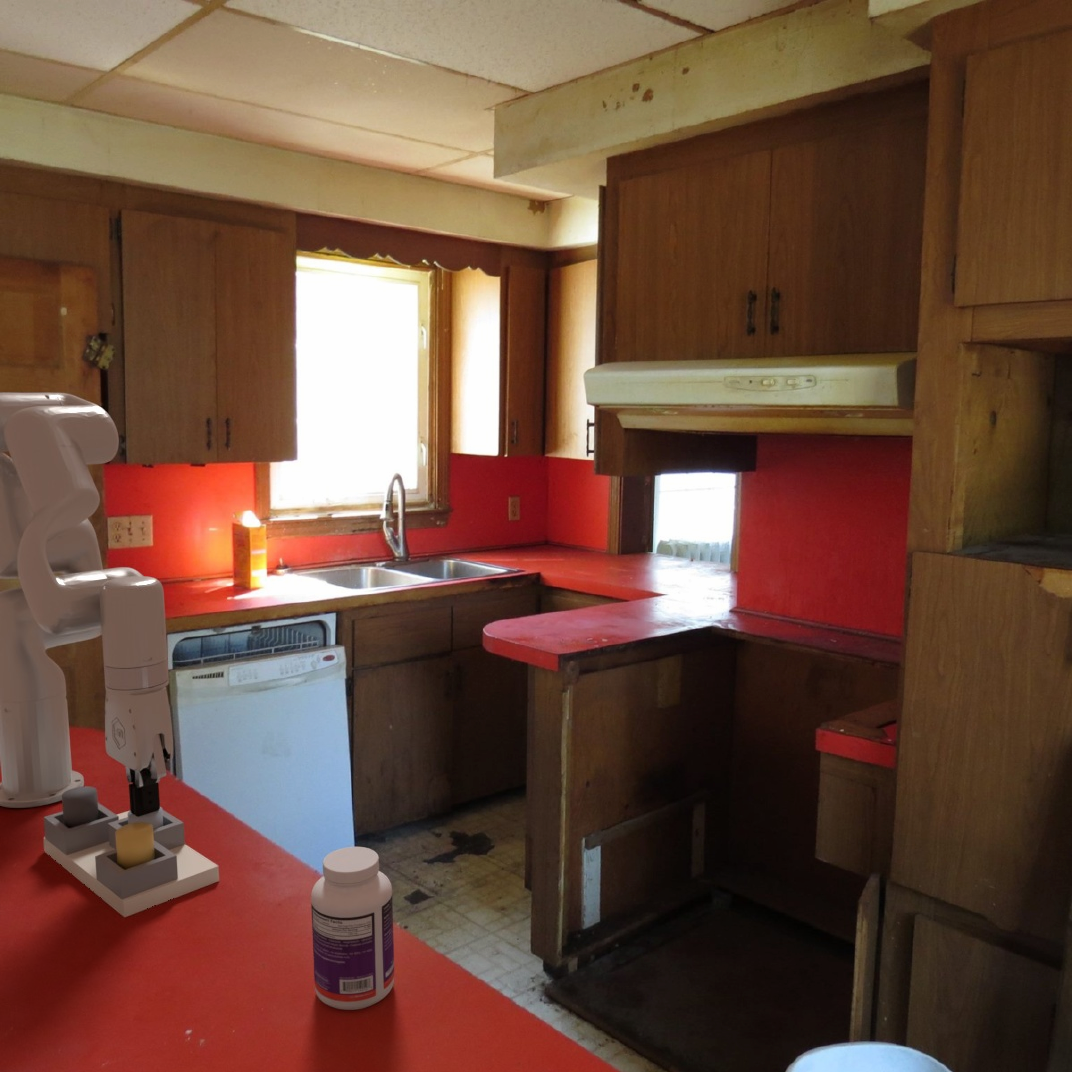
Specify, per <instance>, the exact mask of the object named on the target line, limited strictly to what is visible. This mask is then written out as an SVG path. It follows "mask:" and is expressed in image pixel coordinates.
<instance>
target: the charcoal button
mask: <svg viewBox="0 0 1072 1072" xmlns="http://www.w3.org/2000/svg"><path fill="white" fill-rule="evenodd" d="M61 801H62V802H61V803H62V811H63V819H64V825H65V826H66V827H68V828H73V827H76V826H79V825H83V824H86V823H89V822H92V821H96V820H99V814H98V803H99V800H98V790H97V788H96V787H94V786H87V785H85V786H83V787H77V788H73V789H70V790H67V791H65V792H64V793H63V794H62V800H61Z"/></svg>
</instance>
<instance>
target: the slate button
mask: <svg viewBox="0 0 1072 1072" xmlns="http://www.w3.org/2000/svg"><path fill="white" fill-rule="evenodd" d="M162 810H163V807H161V806H160V809H159V810H158V811H155V812H152V813H149V814H146V815H142V816H139V817H137V816H135V815H134V814H132V813H131V811H130V810H128V811H129V812H128V824H131V823H139V822H143V823H149V824H151V825H152V826H153V829H156V828H159V827H162V826H163V812H162Z"/></svg>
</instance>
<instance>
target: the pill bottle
mask: <svg viewBox="0 0 1072 1072" xmlns="http://www.w3.org/2000/svg"><path fill="white" fill-rule="evenodd" d="M322 873H323V875H322V876H321V877H320V878H319V879H318V880H317V881H316V882H315V883H314V885H313V887H312V890H311V895H310V903H311V925H312V927H311V929H312V950H313V954H312V956H313V977H314V978H313V979H314V980H313V981H314V982H313V983H314V991H315V993H316V995H317V998H318V999H319V1000H320V1001H321V1002H322V1003H324V1004H325V1005H327V1006H329V1007H332V1008H334V1009H338V1010H346V1011H349V1010H350V1011H351V1010H352V1011H354V1010H362V1009H365V1008H367V1007H368V1008H369V1007H370V1006H373V1005H374V1004H376V1003H378V1002H380V1001H382V1000H383V999H384V998H385V997H386V996H388V994H389V993H390V992H391V990H392V988H393V986H394V983H395V954H394V953H395V950H394V949H395V943H394V941H395V940H394V918H393V917H394V913H393V909H394V908H393V907H394V906H393V904H394V903H393V886H392V883H391V881H390V878H388V876H387V875H386V874H385V873H383V872H382V871H380V857H379V854H378V853H377V852H376V851H375V850H374V849H372V848H369V847H363V846H348V847H341V848H339V849H335V850H333V851H331V852H329V853H327V855H325V857H324V858H323V861H322Z"/></svg>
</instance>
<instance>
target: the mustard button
mask: <svg viewBox="0 0 1072 1072" xmlns="http://www.w3.org/2000/svg"><path fill="white" fill-rule="evenodd" d="M115 835H116V851H117V865H118V866H120V867H121V868H122V869H129V868H132V867H135V866H138V865H140V864H143V863H146V862H149V861H152V860H155V854H154V837H153V826H152V825H151V824H149V823H143V822H139V823H131V824H127V825H124V826H122V827H120V828H119V829H117V830H116V832H115Z"/></svg>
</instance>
